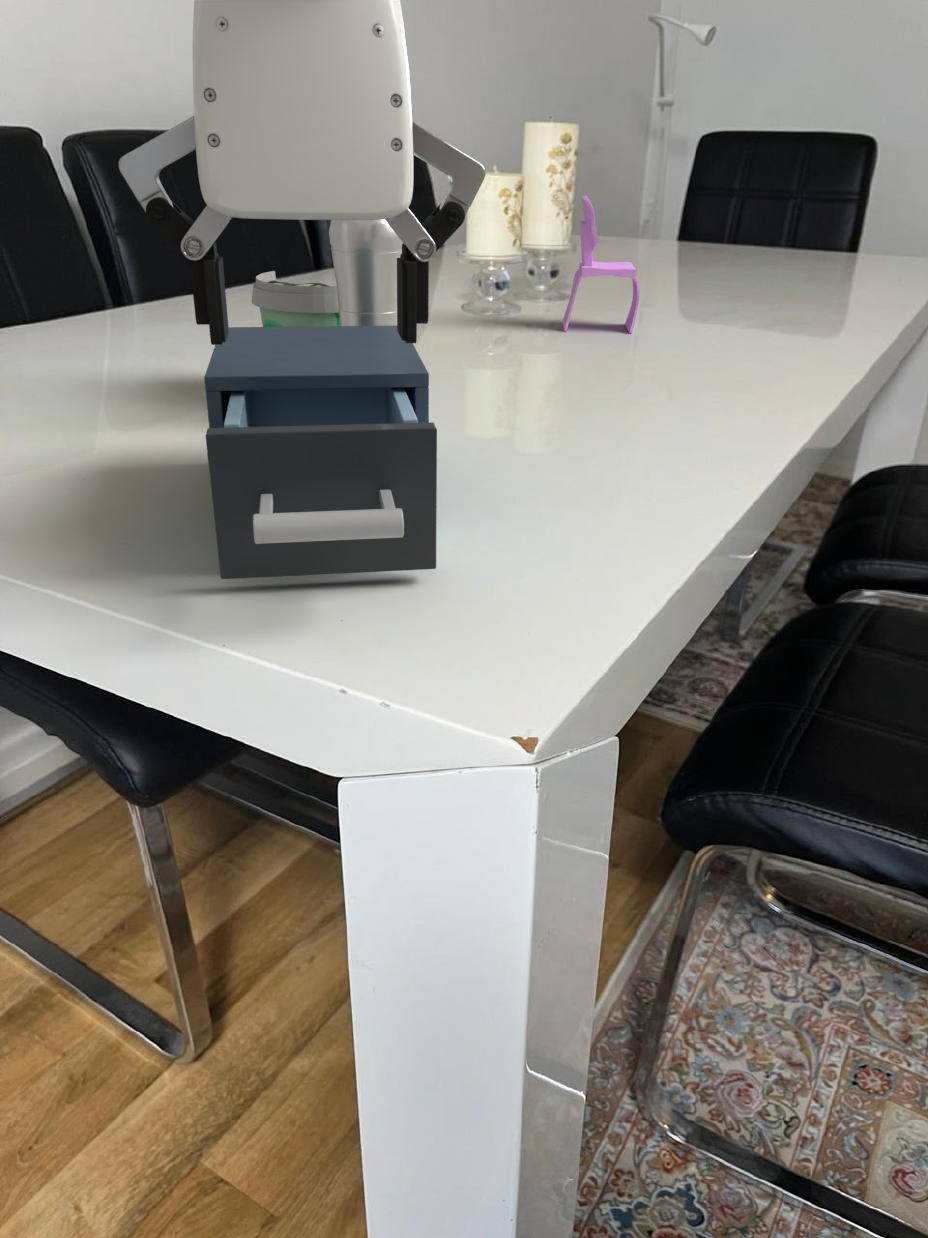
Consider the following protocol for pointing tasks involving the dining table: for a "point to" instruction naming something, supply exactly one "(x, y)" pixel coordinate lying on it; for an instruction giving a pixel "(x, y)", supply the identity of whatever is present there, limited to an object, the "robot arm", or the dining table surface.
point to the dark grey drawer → (323, 483)
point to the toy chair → (599, 266)
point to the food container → (295, 303)
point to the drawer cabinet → (314, 363)
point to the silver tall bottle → (365, 271)
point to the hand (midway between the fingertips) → (314, 338)
